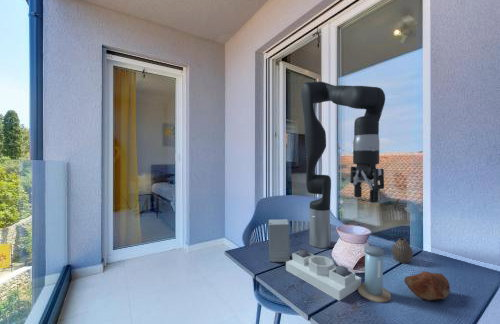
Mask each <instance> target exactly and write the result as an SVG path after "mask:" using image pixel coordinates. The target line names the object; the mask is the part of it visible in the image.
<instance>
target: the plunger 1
mask: <svg viewBox="0 0 500 324" xmlns="http://www.w3.org/2000/svg"><path fill="white" fill-rule="evenodd" d="M297 252H298V255H299V256H301V257H303V258H305V257H307V256H308V252H309V250H307V249H304V248H303V249H302V248H300V249H299V250H297Z"/></svg>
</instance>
